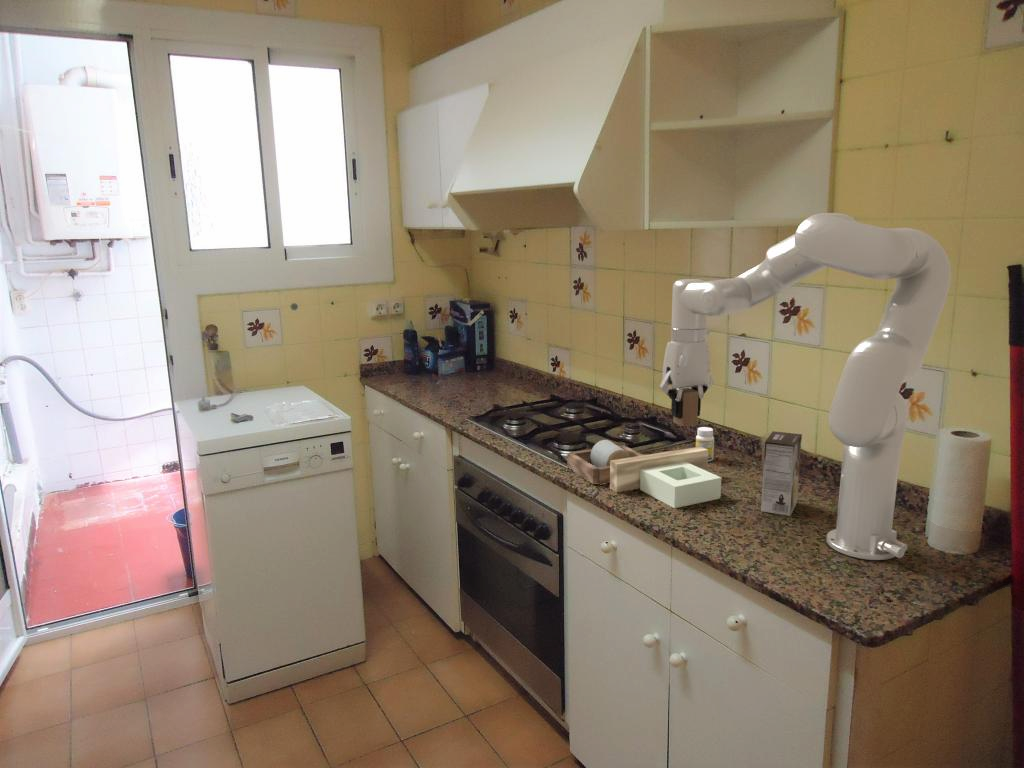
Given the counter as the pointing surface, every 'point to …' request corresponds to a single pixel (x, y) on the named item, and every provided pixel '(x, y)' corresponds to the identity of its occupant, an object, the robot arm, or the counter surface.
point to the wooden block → (688, 408)
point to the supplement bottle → (706, 440)
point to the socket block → (680, 484)
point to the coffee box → (781, 473)
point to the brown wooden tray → (587, 470)
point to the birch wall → (628, 469)
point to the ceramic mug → (606, 453)
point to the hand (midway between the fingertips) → (685, 415)
